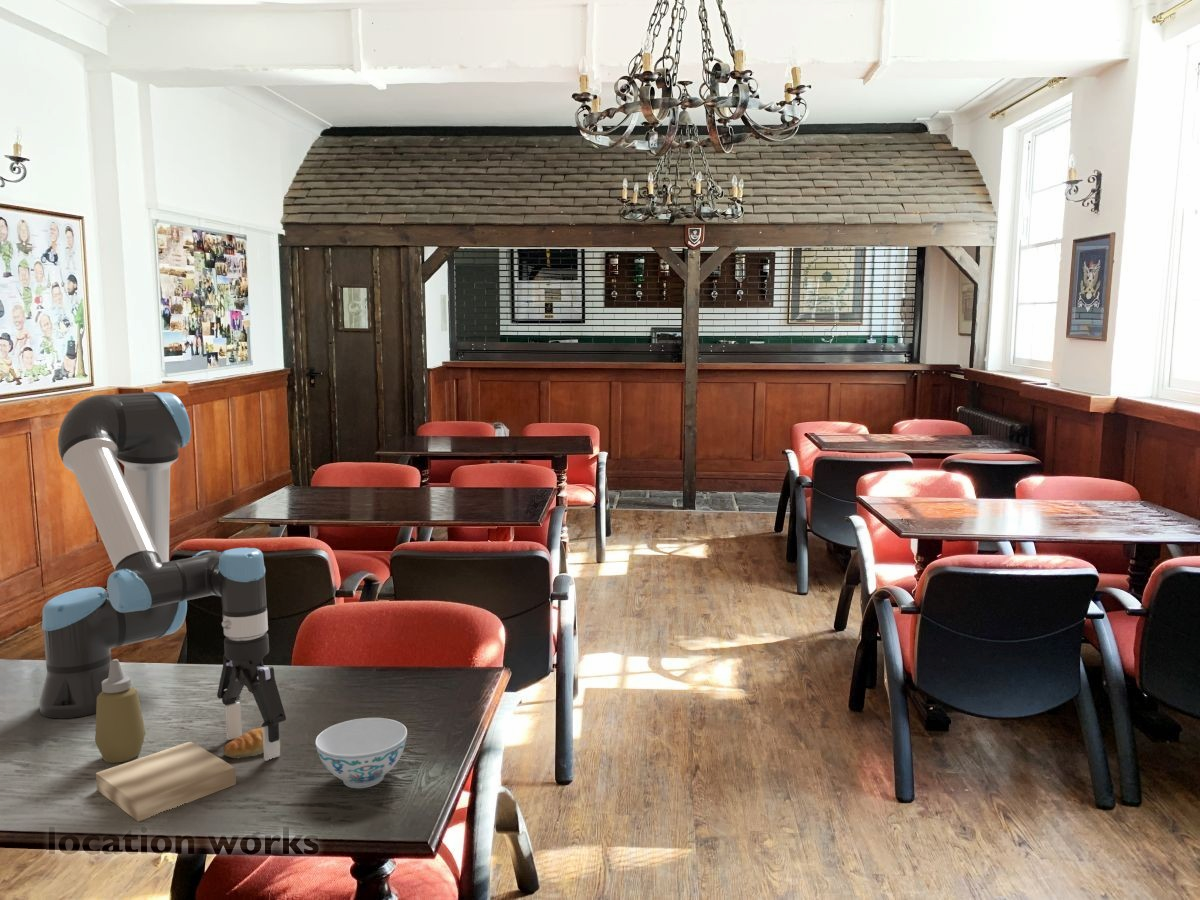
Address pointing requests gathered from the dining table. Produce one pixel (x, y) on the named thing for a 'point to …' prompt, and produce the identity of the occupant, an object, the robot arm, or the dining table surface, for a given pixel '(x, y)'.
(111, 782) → the serving board
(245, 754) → the pastry
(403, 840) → the dining table surface
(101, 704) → the squeeze bottle
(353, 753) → the chinaware
